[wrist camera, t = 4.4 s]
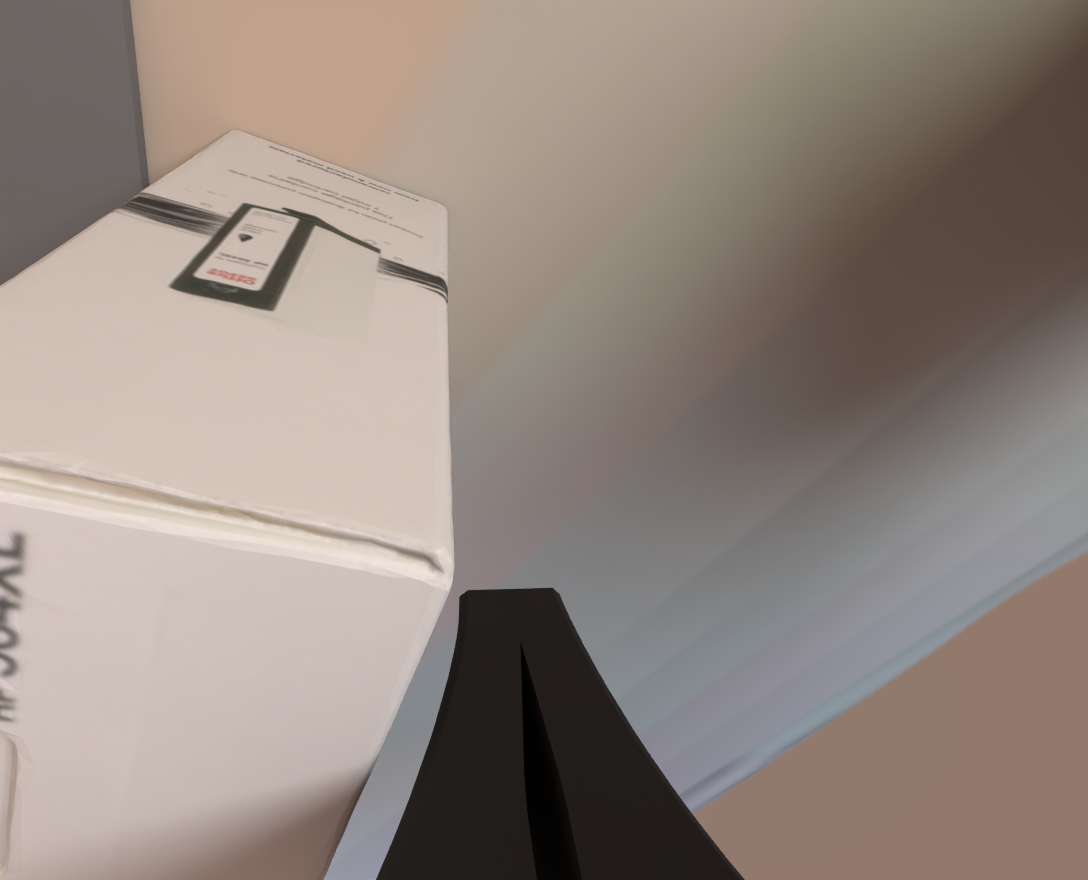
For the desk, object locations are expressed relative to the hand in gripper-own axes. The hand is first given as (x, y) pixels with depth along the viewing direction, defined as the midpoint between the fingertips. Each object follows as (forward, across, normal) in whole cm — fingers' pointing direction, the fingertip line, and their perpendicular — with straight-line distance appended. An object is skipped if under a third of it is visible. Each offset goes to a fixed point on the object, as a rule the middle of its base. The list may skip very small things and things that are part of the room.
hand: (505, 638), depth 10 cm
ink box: (+9, +4, 0) cm, 10 cm away
